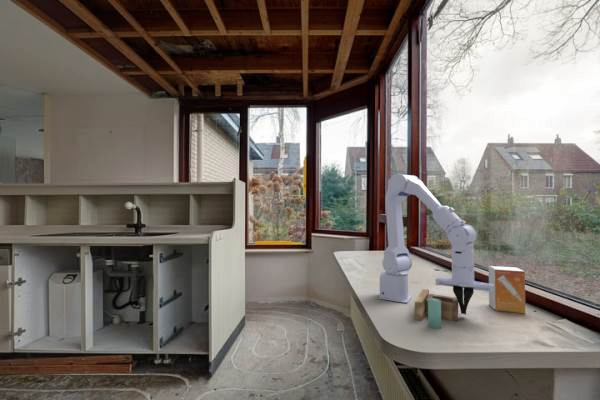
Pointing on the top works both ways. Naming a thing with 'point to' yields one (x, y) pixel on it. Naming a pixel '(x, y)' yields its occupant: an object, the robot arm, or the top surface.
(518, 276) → the small box
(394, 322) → the top surface
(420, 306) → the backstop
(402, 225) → the robot arm
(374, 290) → the top surface
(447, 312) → the block
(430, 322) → the dowel
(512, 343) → the top surface
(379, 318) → the top surface
